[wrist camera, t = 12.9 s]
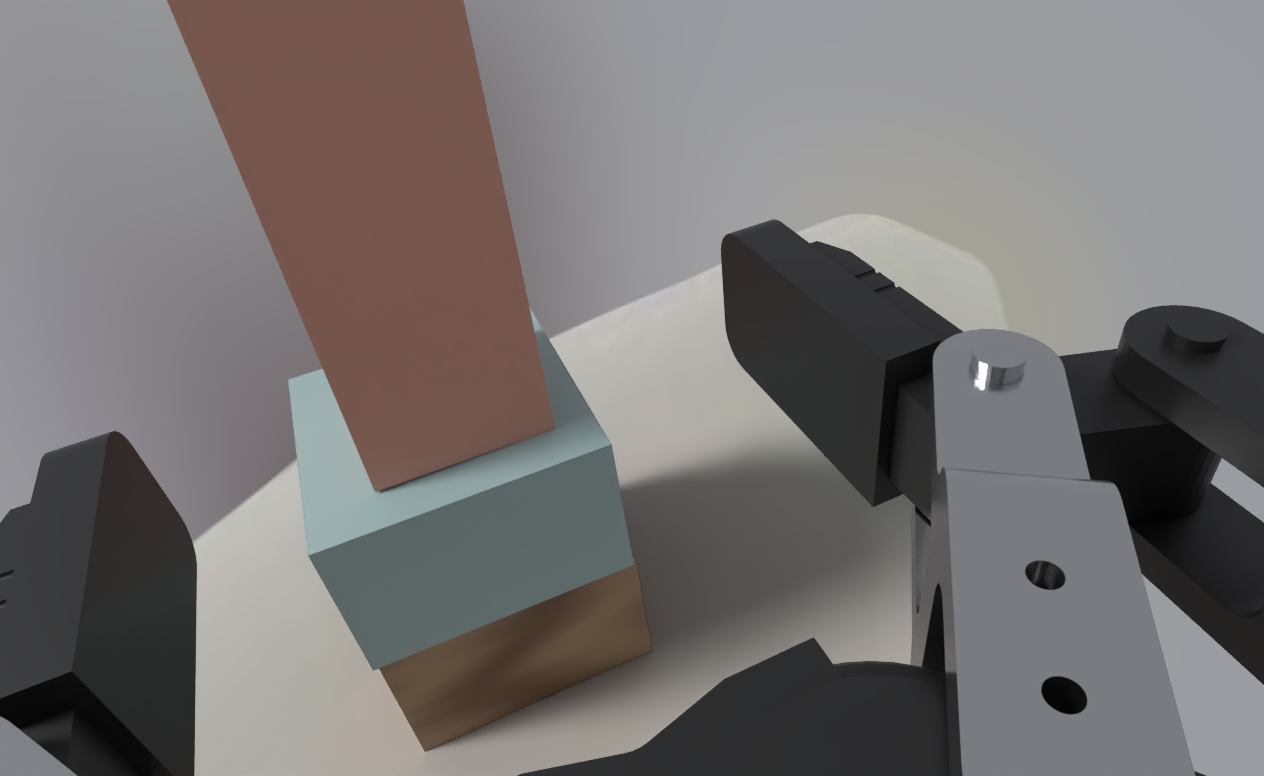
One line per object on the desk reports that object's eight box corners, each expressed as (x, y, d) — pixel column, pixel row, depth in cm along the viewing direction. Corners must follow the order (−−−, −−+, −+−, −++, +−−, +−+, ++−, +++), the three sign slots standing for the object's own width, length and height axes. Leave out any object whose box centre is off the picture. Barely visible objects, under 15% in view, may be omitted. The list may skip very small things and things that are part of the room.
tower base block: (425, 753, 26) (377, 665, 23) (385, 576, 32) (342, 487, 29) (652, 652, 28) (635, 558, 25) (574, 502, 34) (553, 411, 31)
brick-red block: (374, 492, 21) (165, -4, 14) (349, 388, 25) (174, -46, 18) (555, 429, 23) (450, -58, 15) (505, 339, 26) (403, -87, 19)
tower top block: (373, 670, 23) (308, 555, 20) (341, 489, 29) (288, 379, 26) (633, 564, 25) (611, 444, 22) (553, 414, 31) (527, 303, 28)
